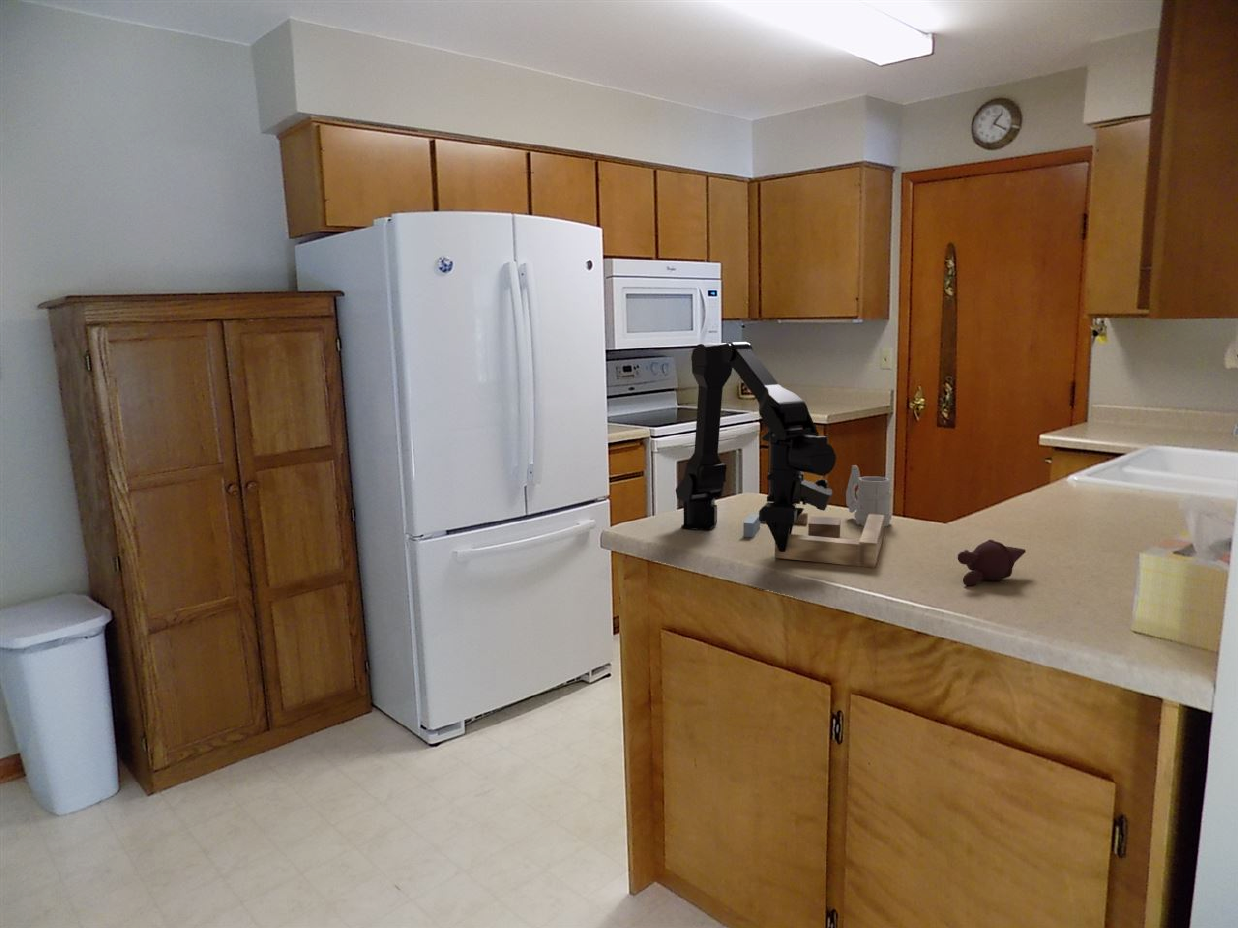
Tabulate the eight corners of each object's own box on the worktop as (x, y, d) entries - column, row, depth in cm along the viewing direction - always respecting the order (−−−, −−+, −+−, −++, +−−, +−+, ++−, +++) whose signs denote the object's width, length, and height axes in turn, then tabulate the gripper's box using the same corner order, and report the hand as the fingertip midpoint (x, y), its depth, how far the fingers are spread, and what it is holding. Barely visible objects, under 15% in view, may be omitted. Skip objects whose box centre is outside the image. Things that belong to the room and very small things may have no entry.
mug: (872, 529, 171) (873, 473, 169) (833, 518, 182) (835, 465, 180) (898, 524, 174) (900, 470, 172) (859, 514, 185) (861, 462, 183)
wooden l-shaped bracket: (774, 557, 151) (775, 534, 150) (794, 528, 172) (794, 508, 171) (875, 567, 145) (876, 543, 144) (883, 536, 165) (884, 515, 165)
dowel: (762, 510, 182) (762, 522, 182) (760, 510, 180) (760, 521, 179) (808, 513, 178) (807, 524, 178) (806, 513, 176) (806, 524, 176)
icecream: (1002, 531, 143) (939, 550, 137) (1038, 530, 136) (974, 549, 130) (1011, 569, 143) (948, 590, 137) (1047, 570, 136) (983, 592, 130)
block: (808, 542, 163) (808, 523, 162) (810, 535, 168) (810, 516, 168) (839, 544, 161) (839, 524, 160) (840, 536, 167) (840, 517, 166)
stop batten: (743, 536, 168) (743, 522, 167) (751, 527, 175) (751, 513, 174) (753, 537, 167) (753, 523, 166) (760, 528, 174) (760, 514, 174)
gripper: (824, 478, 138) (822, 567, 140) (835, 460, 155) (833, 539, 158) (758, 475, 141) (758, 561, 144) (776, 458, 159) (775, 535, 161)
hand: (783, 549), depth 152 cm, fingers closed on wooden l-shaped bracket, 3 cm apart
